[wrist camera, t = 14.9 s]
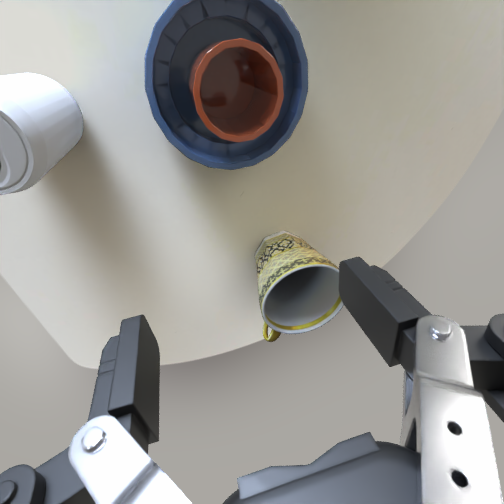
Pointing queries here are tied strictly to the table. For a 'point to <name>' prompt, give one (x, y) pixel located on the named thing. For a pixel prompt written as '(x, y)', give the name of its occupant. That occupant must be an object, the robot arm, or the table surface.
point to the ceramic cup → (295, 286)
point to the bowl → (184, 51)
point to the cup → (236, 89)
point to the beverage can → (34, 128)
